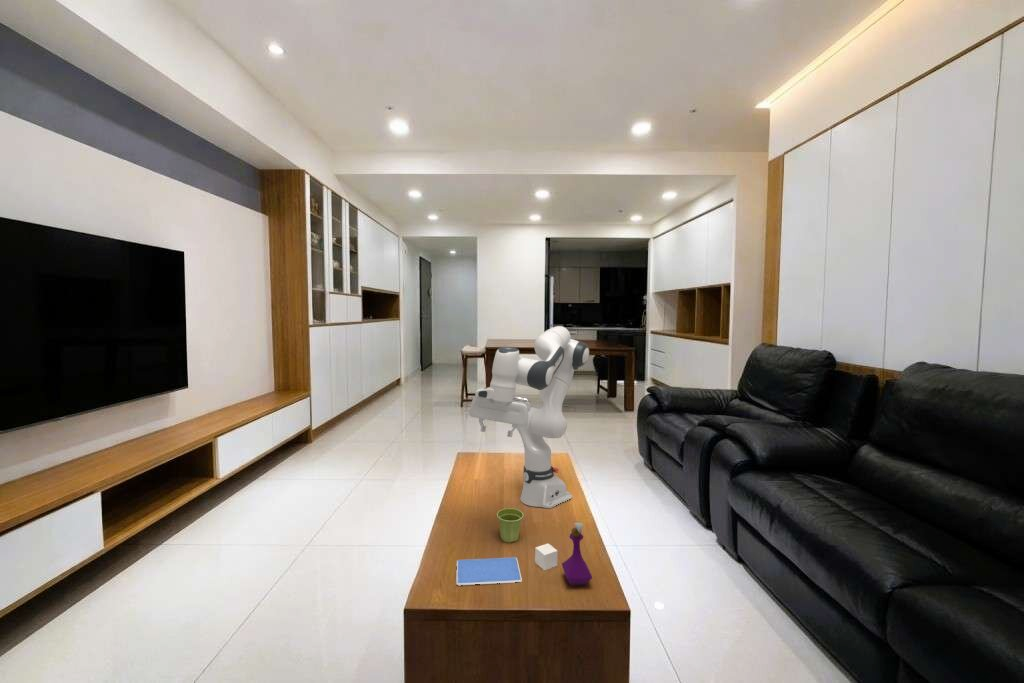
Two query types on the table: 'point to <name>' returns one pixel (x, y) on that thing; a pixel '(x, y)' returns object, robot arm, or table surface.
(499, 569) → the tablet computer
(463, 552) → the table surface
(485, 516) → the table surface
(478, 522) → the table surface
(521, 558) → the table surface
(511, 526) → the plant pot
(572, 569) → the perfume bottle
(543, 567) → the cream block
